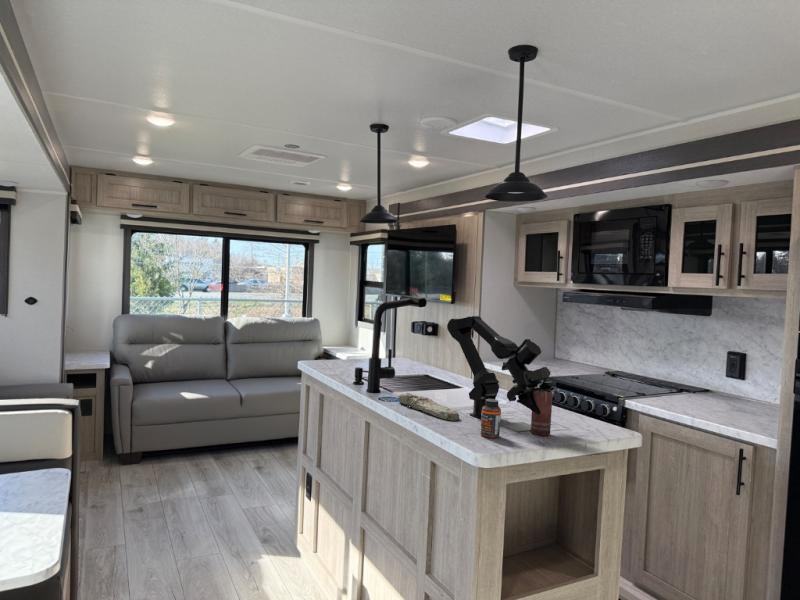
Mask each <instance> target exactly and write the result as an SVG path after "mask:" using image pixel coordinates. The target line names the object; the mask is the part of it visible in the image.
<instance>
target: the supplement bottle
mask: <svg viewBox="0 0 800 600" xmlns="http://www.w3.org/2000/svg"><path fill="white" fill-rule="evenodd" d="M485 404H486V405H485V406H483V407H482V416H481V420H480V435H481V436H482V437H484V438H488V439H498V438H499V437H500V432H501V425H500V424H501V418H502V417H501V416H502V414H501V413H502V409H501V407H500V406H499V400H498V399H486V402H485Z"/></svg>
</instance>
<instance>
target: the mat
mask: <svg viewBox="0 0 800 600" xmlns="http://www.w3.org/2000/svg"><path fill="white" fill-rule="evenodd" d="M500 427H502V428H503V427H504V428H506V429H508V430H511V431H513V432H516V433H525V432H524V431H527V432H531V423H527V422H525V421H515V422H506V423H501V422H500Z"/></svg>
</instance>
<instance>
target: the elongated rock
mask: <svg viewBox="0 0 800 600" xmlns="http://www.w3.org/2000/svg"><path fill="white" fill-rule="evenodd" d="M397 398H398V400H397V401H398V402H400V403H401V404H402V403H403V404H405V405H404V406H406V405H407V406H410V407H412V408H411V409H413V410H417V411H422V412H423V413H424V412H425V414H429V415H432V417H435V416H436V417H435V418H437V417H439V418H438V419H443V420H445V421H454V420H455V421H459V419H460V413H459V412H458V411H457V410H456V409H452V408H450V407H447V406H446V405H445V406H444V405H442V404H438V403H437V402H435V401H434V400H433V399H432V398H428V397H427V396H421V395H420V396H419V395H416V394H415V395H414V394H412V393H409V392H406V393H401V394H399V395H398V396H397ZM403 404H402V405H403ZM407 406H406V407H407ZM410 407H409V408H410Z"/></svg>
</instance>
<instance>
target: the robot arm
mask: <svg viewBox="0 0 800 600" xmlns="http://www.w3.org/2000/svg"><path fill="white" fill-rule="evenodd" d="M446 329H447V331H448V333H449V334H450V336H451V338H453V339H454V340H455V341H456V342H458V344H459V346H460V348H461V351H462V353H463V356H464V358H465V359H466V361H467V363H468V366H469V368H470V370H471V373H472V375H473V381H472V384H473V388H472V389H471V390H470V391H469V392H468V397H469V400H471V401H472V400H473V408H472V413H471V412H470V413H469V416H472V417H474V418H477V419H481V416H482V407H483V406H485V405H486V404H485V402H486V399H496V397H497V395H498V394H499V391H500V390H499V389H500V384H499V383H500V381H499V380H498V378H497V376H496V374H495V372H489V371H488V370H487V369H486V366H485V364H484V362H483V360H482V358H481V356H480V354H479V351H478V349H477V347H476V344H475V343H474V340H473V338H472V332H473V331H474V332H476V333H477V334H478V335H479V337H481V339H483V340H484V341H485V342H486V343H487V344H488V345H489V346H490V349H491V352H492V353H493V354H494V355H495V357H496V358H497V359H498V360H507V361H502V367H501V371H508V373H510V375H511V376H512V378H513V380H512V384H514V385H513V386H512V387H511V388H510V389H509V390H508V391H507V393H506V398H507V400H508V401H509V402H515V401H516V403H518V404H520V405H523V406H524V407H525V408H527V409H529V410H530V411H531V412H532V411H533V412H535V413H536V414H538V415H539V414H540V413H541V412H540V410H539V408H538V407H537V405H536V402H535V400H534V398H533V392H534V390H537V389H540V390H548V391H551V392H553V391H554V390H555V389H556V388H557V386H556V384H555V383H554V382H553V381H543V380H546V379H547V380H548V379H550V376H551V370H550V369H549V368H548V367H547V366H542V367H541V368H537V369H535V370H532V369H531V370H529V369H528V367H527V366H530V365H531V364H532V363H533V362H535V360H536V359H537V358H538V357H539V356H540V355H541V353H542V349H541V347H540V345H538V344H536V343H535V342H533V341H532V340H531V339H530V338H524V340H523V341H522V343H521V344H520V345H519V346H518V345H517V343H516V342H513V341H512V340H511V339H508V338H506V337H503V336H501V335H500V334H499V333H497V332H496V330H494V329H493V328H492V327H491V326H490V325H489V324H488V323H486V322H485V321H484V320H483V318H482V317H481V316H479V315H470V316H466V317H461V318H451V319H449V320H448V323H447V326H446ZM542 381H543V382H542ZM538 385H539V386H538ZM517 398H518V399H517ZM496 400H497V399H496ZM552 412H553V410H552V411H551V413H552Z"/></svg>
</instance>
